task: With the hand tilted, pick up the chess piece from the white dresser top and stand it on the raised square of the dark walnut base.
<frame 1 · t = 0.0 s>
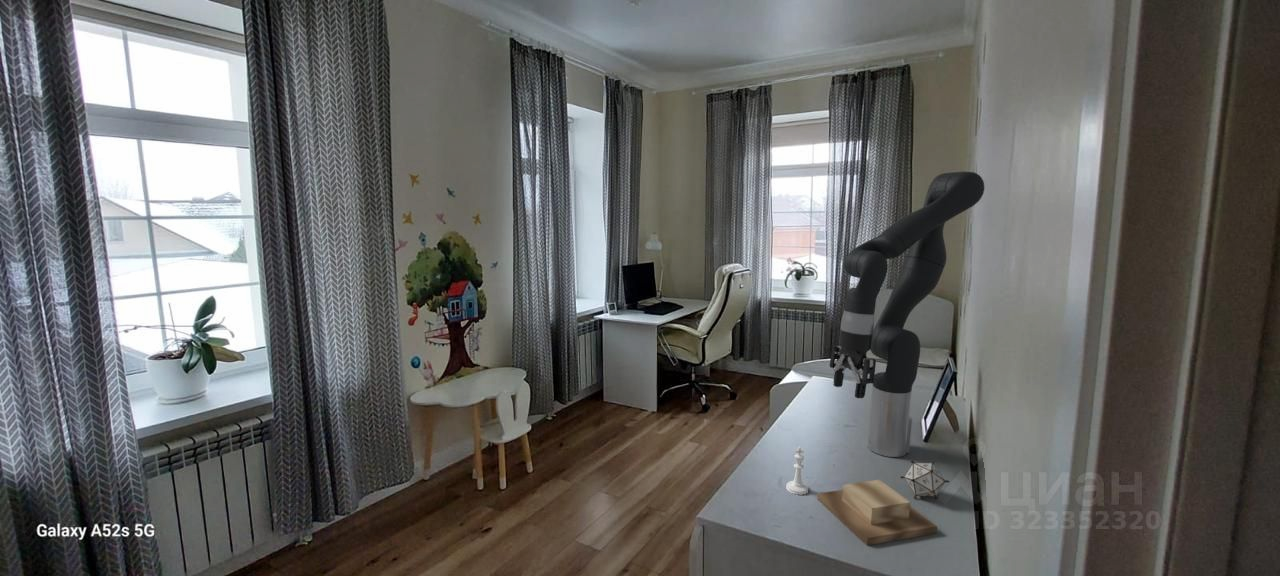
hand: (848, 391, 131), 17 cm above the table, tool pointing down, fingers open, 8 cm apart
game die: (922, 496, 115), on the table
chess piece: (797, 489, 118), on the table
walnut base: (873, 515, 108), on the table
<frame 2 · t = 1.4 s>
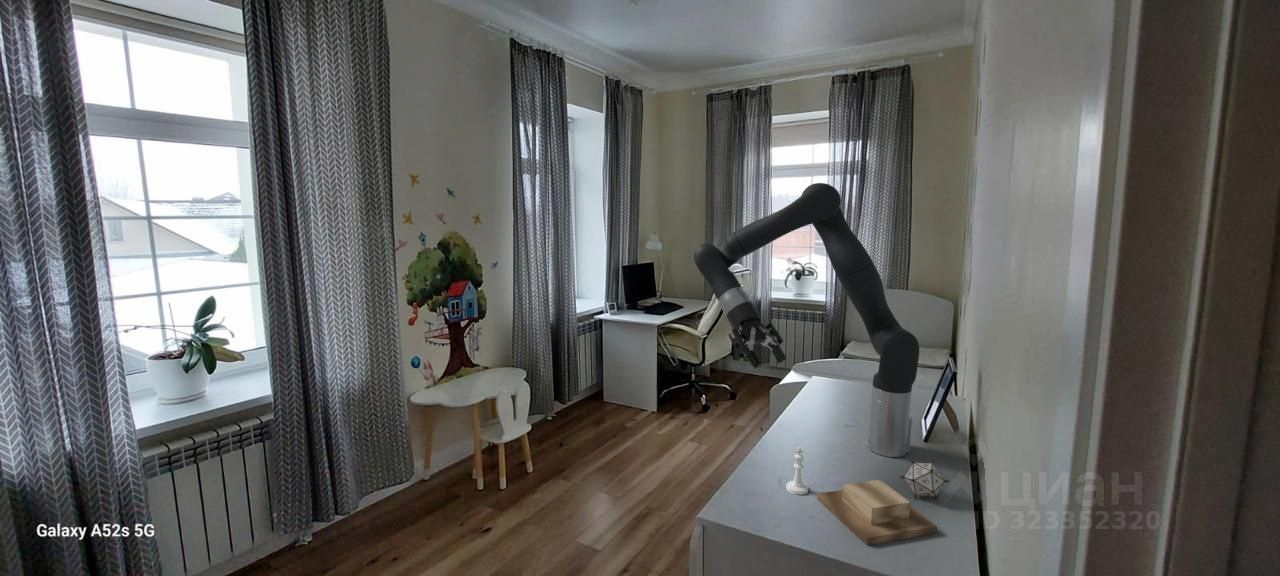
hand: (770, 363, 124), 26 cm above the table, tool tilted 45°, fingers open, 8 cm apart
nothing on the table moved.
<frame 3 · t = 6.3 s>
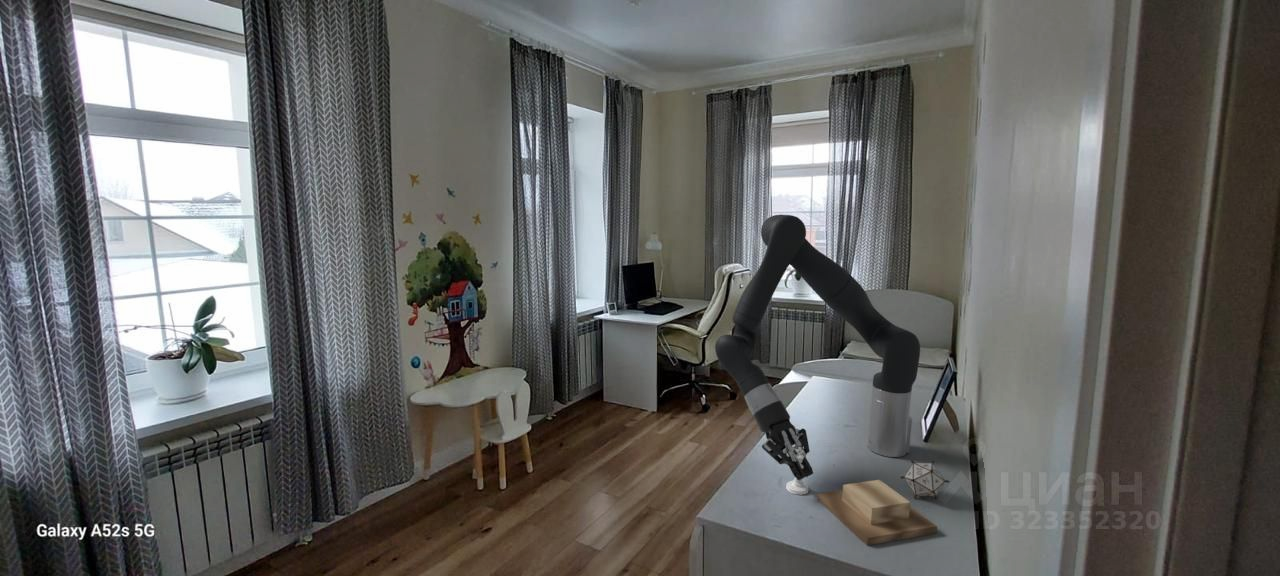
hand: (805, 476, 115), 4 cm above the table, tool tilted 45°, fingers closed on chess piece
chess piece: (797, 489, 118), on the table, touching gripper
everything else where it was.
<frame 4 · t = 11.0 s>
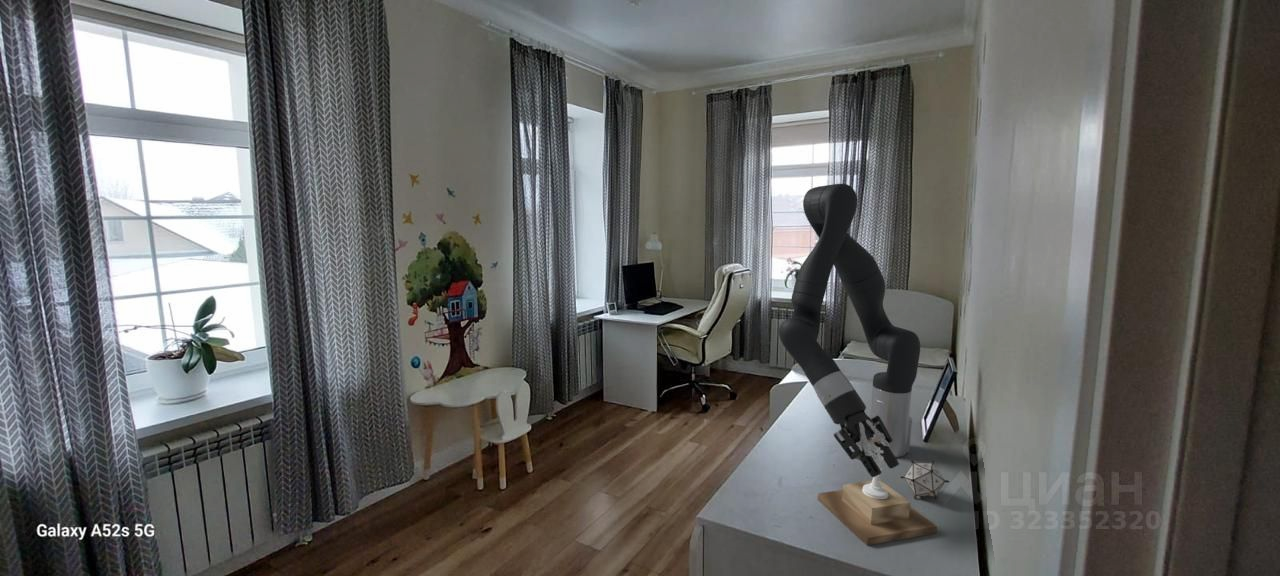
hand: (886, 470, 105), 11 cm above the table, tool tilted 45°, fingers open, 6 cm apart
chess piece: (875, 493, 107), point 5 cm above the table, touching walnut base
everything else where it was.
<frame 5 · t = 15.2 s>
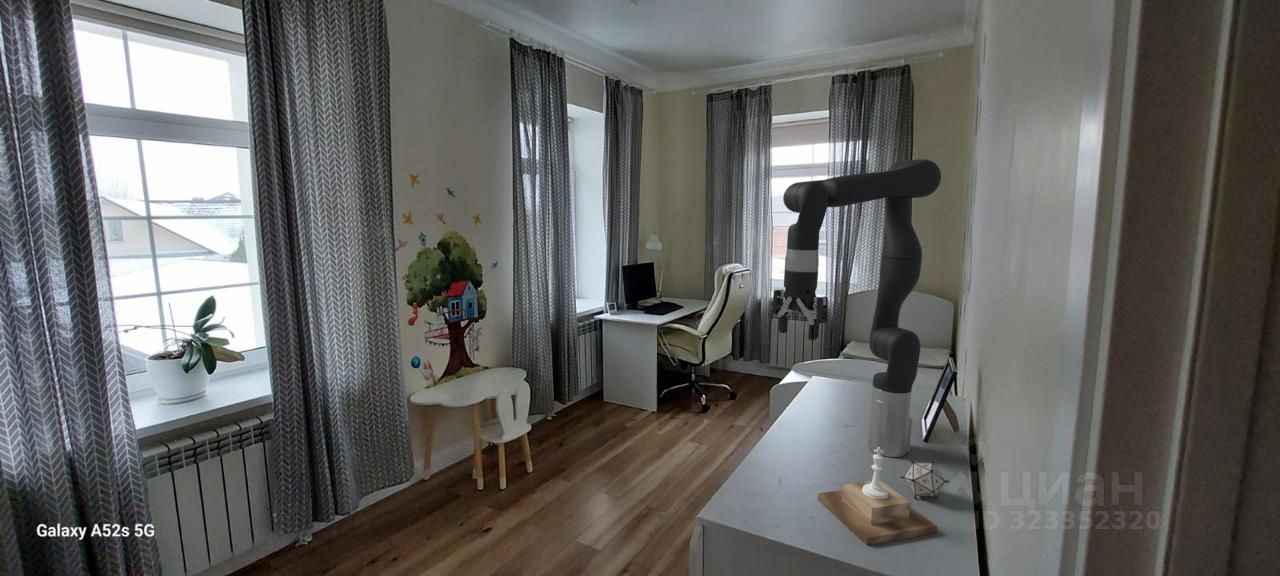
hand: (797, 336, 123), 33 cm above the table, tool pointing down, fingers open, 8 cm apart
nothing on the table moved.
at the end: chess piece inside the target area on the walnut base (0.1 cm from its centre), point 4.8 cm above the walnut base's base; chess piece tilted 0°; the gripper is holding nothing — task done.
